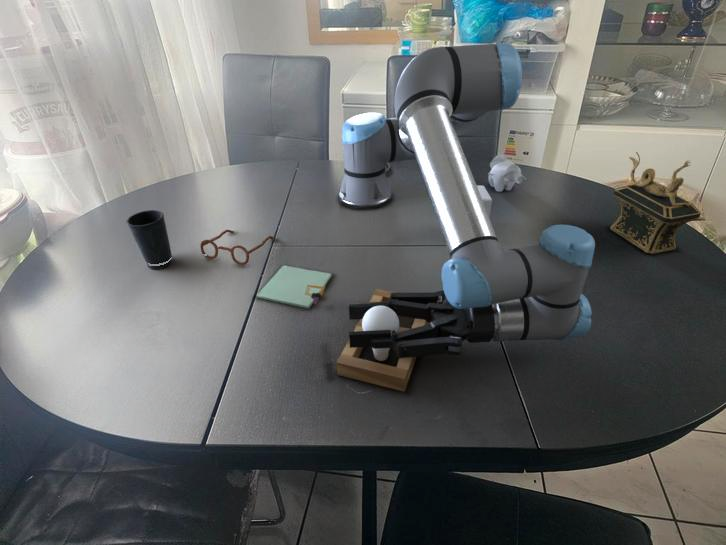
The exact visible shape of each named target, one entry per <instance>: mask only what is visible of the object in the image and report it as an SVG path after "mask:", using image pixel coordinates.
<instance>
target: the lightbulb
mask: <svg viewBox="0 0 726 545" xmlns="http://www.w3.org/2000/svg"><path fill="white" fill-rule="evenodd" d="M399 327H400V319H399V316H397V315H396V313H395V312H394V311H393V310H392V309H390V308H389V307H386V306H375V307H372V308H371V309H369V310H368V311H367V312H366V313H365V315H364V317H363V320H362V329H363V331H375V330H391V336H392V331H393V330H395V332H396V333H397V332H398V329H399ZM371 349H372V353H373V358H374V359H375V360H377V361H379V362H384V361H385V360H387V359H388V358H389V351H390V349H391V348H380V349H379V348H378V349H374V348H372V347H371Z"/></svg>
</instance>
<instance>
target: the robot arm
mask: <svg viewBox="0 0 726 545" xmlns="http://www.w3.org/2000/svg"><path fill="white" fill-rule="evenodd" d="M522 66H523V65H522V60H521V57H520V54H519V51H518V50H517V49H516V48H515V46H514V45H513V44H511V43H509V42H498V41H494V42H493V43H485V44H484V43H483V44H469V45H453V46H437V47H431V48H428V49H426V50H424V51H421V52H420V53H418V54H417V55H416V56H414V57H413V58H412V59H411V60H410V62H408V64H407V65H406V67H405V68H404V69H403V70H402V73H401V75H400V77H399V80H398V82H397V84H396V88H395V94H394V106H393V107H394V114H395V117H391V118H386V117H385V115H384V114H383V113H380V112H366V113H361V114H357V115H354V116H352V117H351V118H348V119H347V120H345V121H344V123H343V124H342V129H341V130H342V134H341V135H342V136H341V143H342V153H343V154H342V157H343V172H344V174H343V178H342V182H341V185H340V189H339V192H338V196H339V197H338V198H339V201H340V203H341V204H342V205H343V206H345V207H348V208H351V209H355V210H372V209H373V210H374V209H379V208H382V207H383V206H386V205H388V204H389V203H390V202H391V200H392V190H391V189H392V188H391V186H390V182H389V180H388V177H387V174H389V172H391V170H392V166H391V163H393V162H403V161H410V160H411V161H413V160H416V161H417V164H418V167H419V170H420V172H421V175H422V178H423V182H424V184H425V187H426V190H427V193H428V195H429V196H428V197H429V198H430V199H429V200H430V202H431V205H432V207H433V211H434V213H435V216H436V219H437V222H438V225H439V228H440V230H441V234H442V236H443V239H444V242H445V245H446V248H447V251H448V254H449V257H450V259H447V260H446V261H445V262H444V264H443V266H442V269H441V274H440V275H441V282H442V289H443V290H438V291H433V292H396V293H391V294H390V298H389V300H388V301H386V302H371V303H369V302H368V303H354V304H353V303H352V304H348V317H349V321H351V320H352V321H353V320H360V319H363V317H364V315H365V313H366V312H367V311H368V310H369V309H371V308H372V307H375V306H386V307H389V308H390V309H392V310H393V311H394V312H395V313H396V315H397V317H404V318H405V317H406V318H411V319H415V318H416V319H423V320H426V321H427V322H428V324H427V325H424V326H420V327H416V328H413V329H411V328H408V329H409V330H405V331H402V332H398V333H396V332H395V330H393V331H392V336H391V330H375V331H354V330H353V331H354V332H353V331H348V335H349V336H348V337H349V338H348V340H349V339H350V348H353V347H363V348H370V347H371V349H372V348H374V349H378V348H379V349H380V348H390V349H392V350H393V351H394V352H395V353H396V356H397V358H399V359H400V358H408V357H416V358H417V357H426V356H437V355H451V356H460V355H461V354H462V346H463V341H467V342H468V343H469V344H476V343H477V344H478V343H480V344H481V343H489V342H491V341H493V342H496V343H497V342H516V341H546V340H556V341H560V340H561V341H563V340H567V339H575V338H580V337H583V336H585V335H586V334H587V333H588V332H589V330H590V329H591V326H592V319H591V317H592V314H593V312H592V308H591V303H590V302H589V299H588V298H587V297H586V296H585V295H584V294H582V293H583V289H584V287H585V283H586V280H587V277H588V274H589V271H590V268H591V267H592V265H593V263H592V262H593V258H594V255H595V248H596V240H595V239H594V237H593V235H591V234H590V233H589V232H587V230H585V229H583V228H581V227H578V226H574V225H570V224H554V225H550V226H549V227H547V228H546V229H544V230H543V231H542V233H541V235H540V238H539V240H538V244H535V245H528V246H522V247H517V248H510V249H504V250H503V249H502V245H501V243H500V241H499V240H498V239H499V238H498V237H497V234H496V231H495V229H494V226H493V224H492V221H491V219H490V216H488V213H487V211H486V208H485V206H484V203H483V201H482V198H481V196H480V193H479V190H478V188H477V186H478V184H477V183H476V180H475V178H474V175H473V173H472V170H471V168H470V165H469V162H468V160H467V157H466V155H465V153H464V149H463V147H462V145H461V142H460V139H459V137H458V134H457V132H456V129H455V126H457V125H458V124H459V123H471V122H474V121H476V120H478V119H479V118H481V117H482V116H484V115H485V114H487V113H489V112H493V111H499V112H501V111H504V110H508V109H511V108H512V107H514V105H515V104H516V103H517V101H518V99H519V96H520V94H521V89H522V83H523V67H522ZM386 166H387V170H386ZM397 299H398V300H397ZM395 308H396V309H395ZM432 310H433V311H432ZM405 349H406V350H405Z"/></svg>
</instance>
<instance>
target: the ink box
mask: <svg viewBox="0 0 726 545" xmlns="http://www.w3.org/2000/svg"><path fill="white" fill-rule="evenodd" d="M477 188H478V190H479V193H480V196H481V198H482V201H483V203H484V206H485V208H486V211H487V213H488V216H489V217H490V215H491V209H492V208H491V207H492V203H493V199H492V197H491V195H490V194H489V192H488V190H487V189H486V187H485V185H477Z"/></svg>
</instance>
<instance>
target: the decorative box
mask: <svg viewBox="0 0 726 545" xmlns="http://www.w3.org/2000/svg"><path fill="white" fill-rule="evenodd" d="M635 154H636V155H637V157H638V159H637V158H635V157H633V156H628V158H629V159H630V161H631V162H632V165H633V167H632V170H631V171H630V178H631V179H630V180H631V182H632V183H633V184H628V185H624V186H620V187H616V188H614V191H613V195H614V197H615V198H616V200H617V201H618V203H619V204H620V209H621V212H620V214H619V216H618V218H617V219H616V220H615V221H614V223H613V224H611V225H610V228H609V229H610V230H611V231H612V232H614V233H616V234H617V235H618V236H620V237H622V238H623V239H624V240H626V241H628V242H629V243H631V244H632V245H634V246H635V247H636V248H638V249H640V250H642V251H643V252H645V253H646V254H652V255H653V254H654V255H655V254H658V253H663V252H668V251H674V250H676V248H677V245H676V240H675V236H676V233H677V231H678V230H679V229H680V228H681V227H682V226H684V225H685V224H688V223H690V222H693V221H696V220H697V219H699V218H700V216H701V214H702V212H701V210H700V209H699V208H697V207H696V206H695V205H694V204H693V203H692V202H691V201H690V200H688V199H686V198H683V197H681V196H680V195H678V190H679V189H680V187H681V186H682V185H683V183H684V180H685V179H684V177H677V174H678V173H680V171H681V170H683V169H685V168H687V167H690V166H691V160H688V159H687V160H686V161H685V162H684V163H683V165H682V166H680V167H678V168H677V169H675V170H674V171H673V172H672V175H671V179H670V182H669V184H668V185H667V186H666V185H664V184H661V183H659V182H656V181H654V180H655V177H656V171H655V169H654V168H652V167H651V168H647V169H645V170H644V171H643V172H642V174H641V182H637V181H636V180H635V173H636V169H637V168H638V166H639V165H640V162H641V157H640V154H639V152H637V151H635Z"/></svg>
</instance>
